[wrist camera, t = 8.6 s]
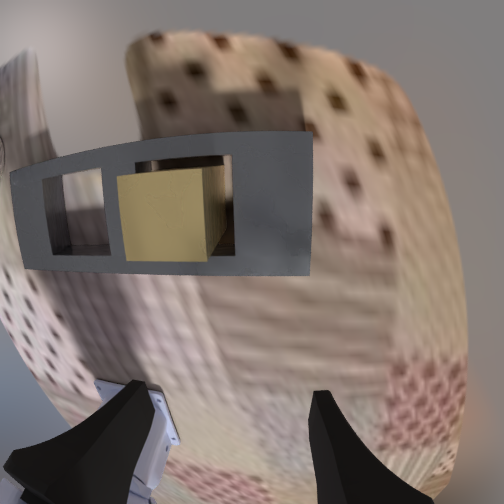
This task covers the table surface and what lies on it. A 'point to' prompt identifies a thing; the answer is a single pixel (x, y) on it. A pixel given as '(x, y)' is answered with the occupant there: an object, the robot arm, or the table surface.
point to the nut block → (172, 213)
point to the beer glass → (1, 158)
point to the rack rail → (139, 160)
